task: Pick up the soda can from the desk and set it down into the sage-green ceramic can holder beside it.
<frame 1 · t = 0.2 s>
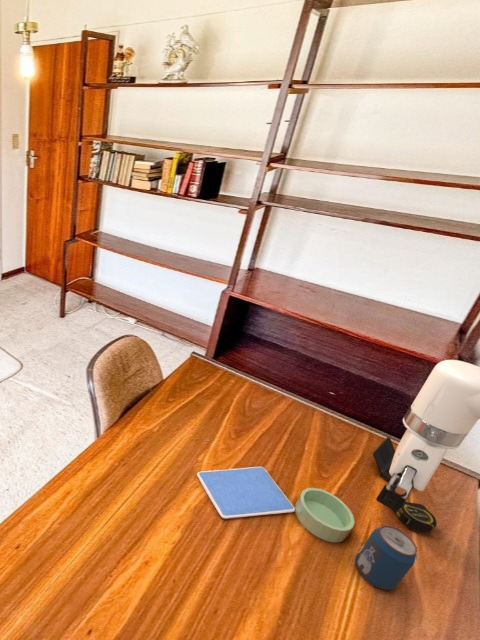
hand: (391, 490, 77), 22 cm above the table, tool pointing down, fingers open, 9 cm apart
tablet: (243, 493, 100), on the table
soda can: (372, 574, 84), on the table
holder: (319, 520, 94), on the table
handheld gaming console: (392, 470, 107), on the table
tape measure: (407, 519, 95), on the table
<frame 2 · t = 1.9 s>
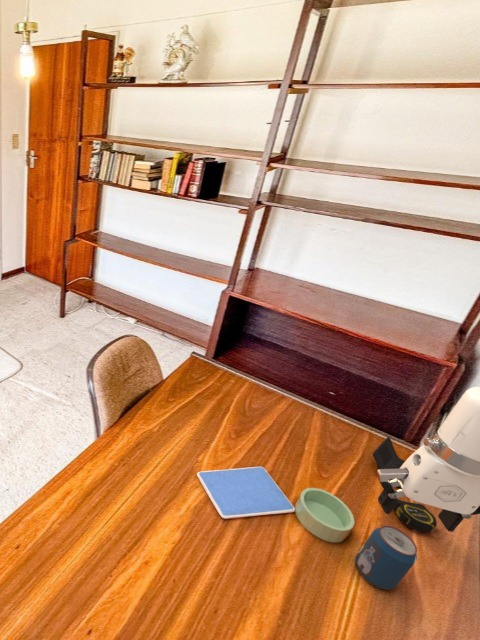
hand: (413, 515, 75), 19 cm above the table, tool pointing down, fingers open, 9 cm apart
nothing on the table moved.
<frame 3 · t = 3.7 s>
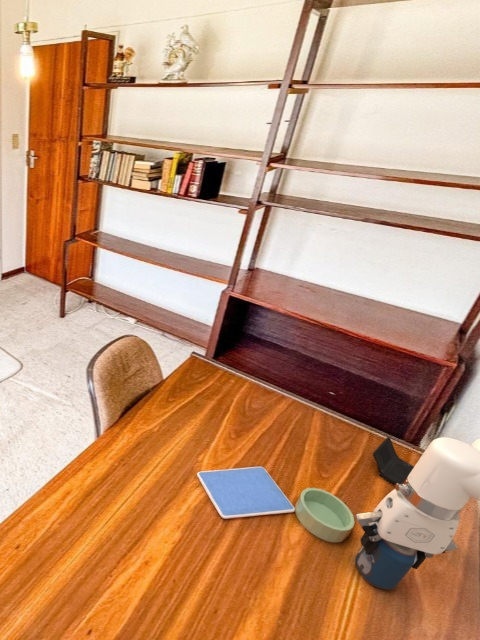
hand: (387, 554, 81), 7 cm above the table, tool pointing down, fingers closed on soda can, 7 cm apart
soda can: (372, 574, 84), on the table, touching gripper
everything else where it was.
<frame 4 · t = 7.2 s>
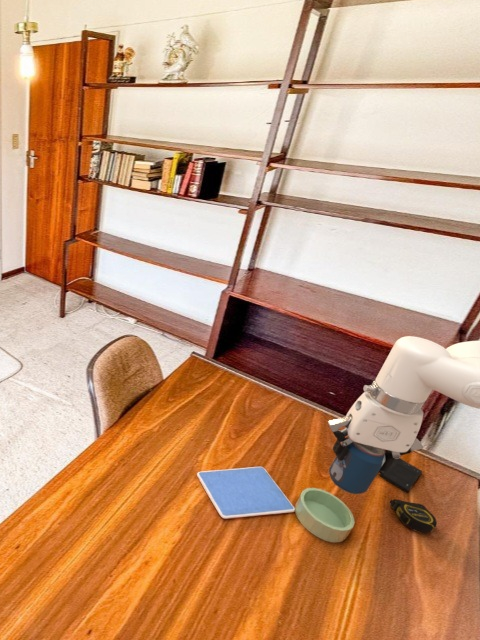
hand: (358, 460, 84), 21 cm above the table, tool pointing down, fingers closed on soda can, 7 cm apart
soda can: (345, 483, 87), point 14 cm above the table, touching gripper
everything else where it was.
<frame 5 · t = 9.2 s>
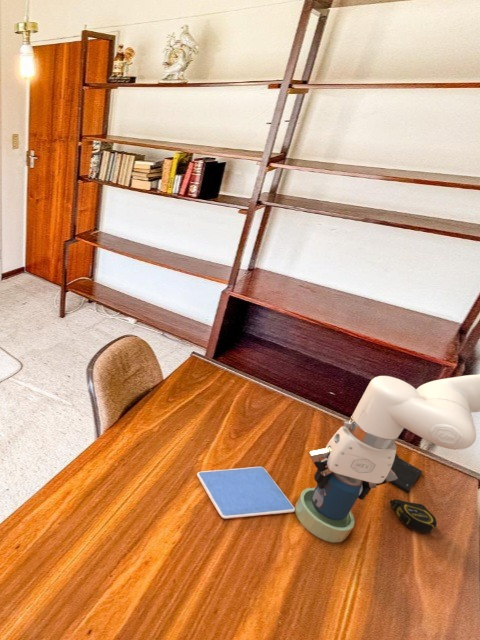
hand: (338, 488, 89), 11 cm above the table, tool pointing down, fingers closed on soda can, 7 cm apart
soda can: (326, 509, 92), point 4 cm above the table, touching gripper
everything else where it was.
when the fingers open (8 cm above the table, at t = 10.7 s): soda can stays where it is, resting on holder.
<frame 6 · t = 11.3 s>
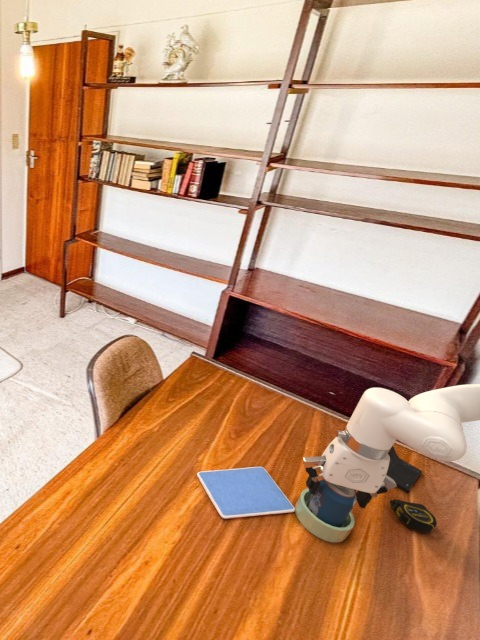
hand: (334, 495, 90), 9 cm above the table, tool pointing down, fingers open, 9 cm apart
soda can: (321, 519, 94), resting on holder
everything else where it was.
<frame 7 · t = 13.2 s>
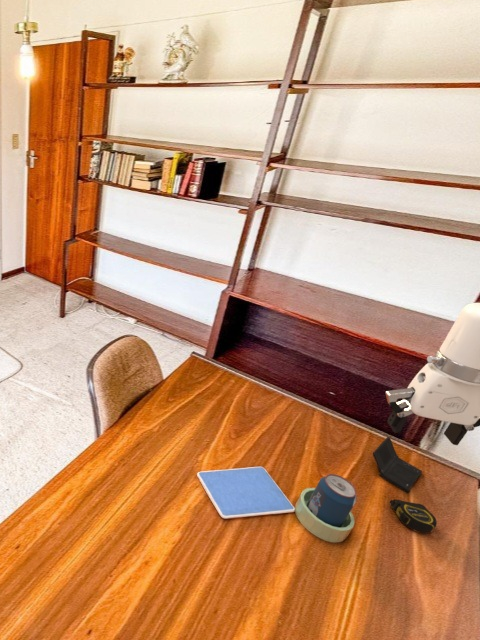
hand: (421, 433, 81), 29 cm above the table, tool pointing down, fingers open, 9 cm apart
nothing on the table moved.
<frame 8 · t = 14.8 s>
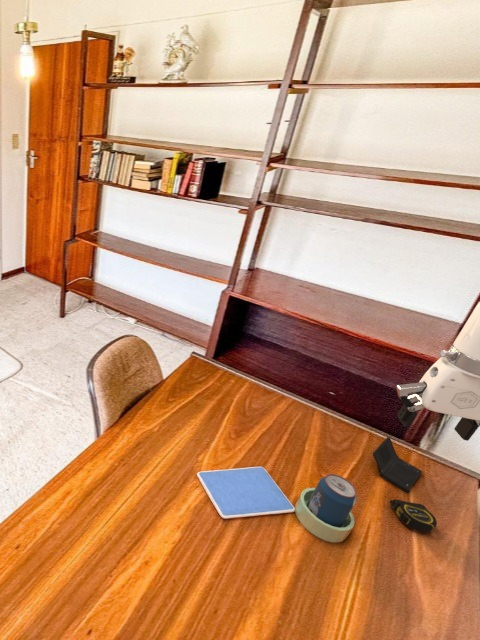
hand: (431, 428, 81), 30 cm above the table, tool pointing down, fingers open, 9 cm apart
nothing on the table moved.
at the end: soda can 0.1 cm off-centre in the holder, point 0.4 cm above the holder's base; soda can tilted 0°; the gripper is holding nothing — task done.
